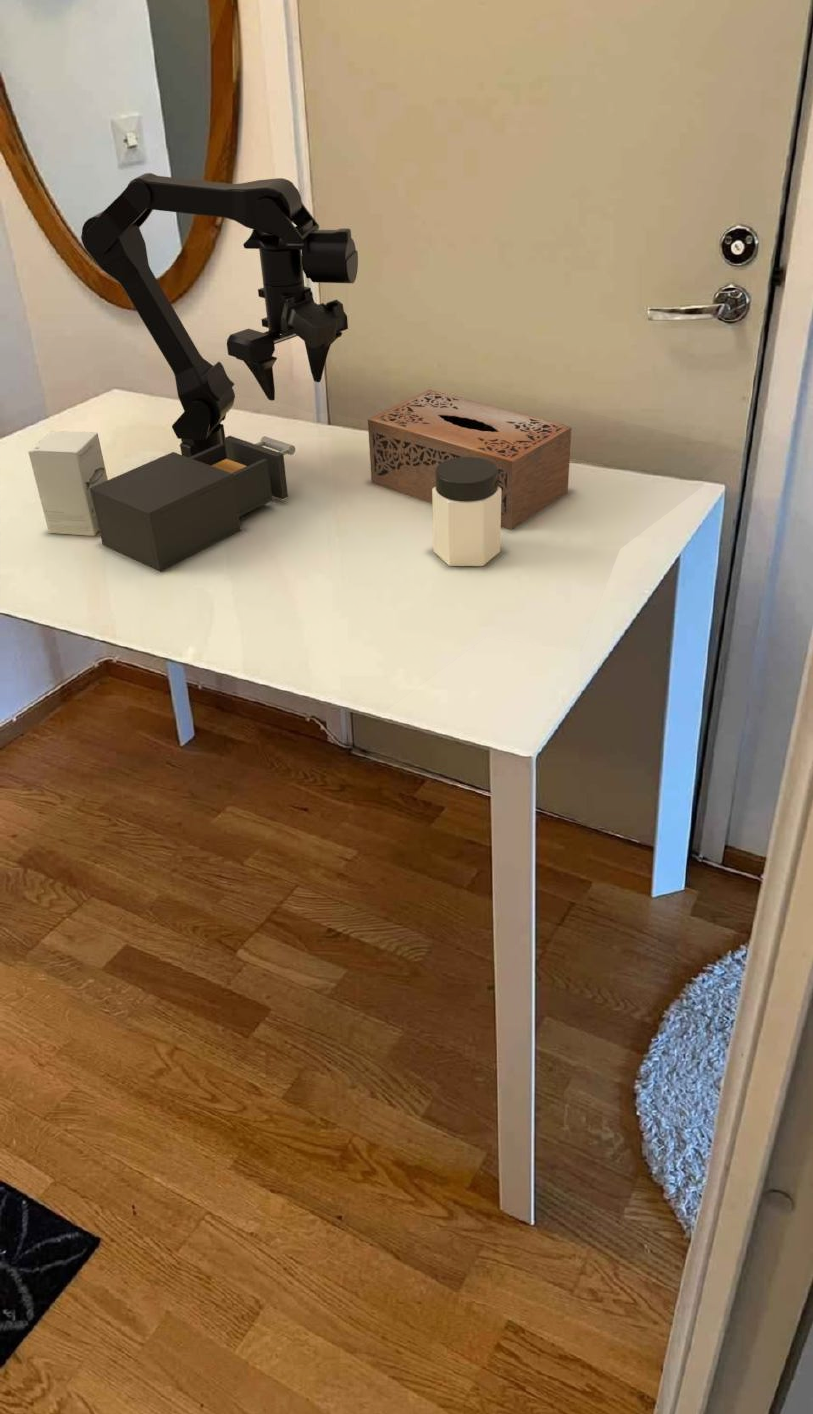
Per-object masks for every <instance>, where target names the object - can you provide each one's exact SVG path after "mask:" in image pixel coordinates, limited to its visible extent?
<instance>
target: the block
mask: <svg viewBox="0 0 813 1414" xmlns="http://www.w3.org/2000/svg"><path fill="white" fill-rule="evenodd" d="M212 466H213V467H216V468H218V469H221V470H224V471H226V472H229V473H234V472H237V471H239V470H241V469H243V468H245V467H247V466H245V465H242V464H240V463H237V462H234V461H231V460H229V459H225V460H223V461H221V462H218V463H216V464H214V465H212Z"/></svg>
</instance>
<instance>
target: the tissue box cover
mask: <svg viewBox="0 0 813 1414" xmlns="http://www.w3.org/2000/svg"><path fill="white" fill-rule="evenodd" d="M367 428H368V429H367V431H368V446H369V462H370V464H369V465H370V479H371V480H370V481H371V484H374V485H377V486H380V487H383V488H385V489H389V490H392V491H395V492H398V493H400V494H404V495H406V496H410V497H413V498H416V499H419V500H422V501H425V502H428V503H431V504H432V489H433V488H434V487H435V470H436V468H437V466H438V465H439V464H440V463H442V462H444V461H446V460H449V459H453V458H458V457H477V458H482V459H486V460H489V461H491V462H493V463H494V464H495V465H496V466H497V467H498V474H499V484H498V486H499V487H500V488H501V490H502V491H501V528H502V527H503V528H506V529H509V530H512V529H514V528H516V527H517V526H518V525H519V524H520V525H521V523H523V522H524V521H526V520H527V519H529V518H530V517H532V516H533V515H535V514H537V513H538V512H540V511H541V510H543V509H544V508H545V507H548V506H549V505H550V504H552V503H553V502H555V501H557V500H558V499H560V498H561V497H562V496H564V495H566V494H567V493H568V492H569V477H570V475H569V474H570V460H571V445H572V428H573V427H572V426H569V425H565V424H561V423H557V422H553V421H550V420H546V419H542V418H539V417H535V416H531V415H527V414H523V413H520V412H516V411H512V410H508V409H505V408H501V407H498V406H493V405H489V404H487V403H481V402H478V401H474V400H470V399H467V398H462V397H459V396H455V395H451V394H447V393H444V392H440V391H436V390H433V389H428V390H426V391H424V392H422V393H420V394H418V395H415V396H412V398H409V399H406V400H405V401H403V402H401V403H399V404H397V405H395V406H393V407H391V408H388V409H386V410H385V411H382V412H380V413H378V414H376V415H374V416H372V417H370V418H368V419H367Z"/></svg>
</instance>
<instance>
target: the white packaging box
mask: <svg viewBox="0 0 813 1414" xmlns="http://www.w3.org/2000/svg"><path fill="white" fill-rule="evenodd" d="M27 452H28V456H29V461H30V464H31V468H32V472H33V476H34V480H35V484H36V488H37V491H38V495H39V499H40V504H41V507H42V511H43V516H44V519H45V523H46V526H47V529H48V530H47V531H48V533H49V534H59V535H60V534H61V535H73V536H74V535H76V536H89V537H92V536H96V534H97V533H98V532H99V531H100V530H99V526H98V522H97V517H96V513H95V509H94V505H93V500H92V496H91V492H90V488H91V487H94V486H96V485H98V484H101V483H103V482H105V481H107V480H109V479H108V474H107V470H106V469H107V468H106V464H105V461H104V456H103V451H102V447H101V442H100V437H99V433H98V432H94V431H93V432H92V431H69V430H68V431H67V430H51V431H49V432H48V433H47V434H46V435H45V436H44V437H43V438H42V439H41V440H39V441H38V442H37V443H36V444H35V445H34V446H32V447H31V448H30V449H29V450H28V451H27Z"/></svg>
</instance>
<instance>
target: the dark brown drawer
mask: <svg viewBox="0 0 813 1414" xmlns="http://www.w3.org/2000/svg"><path fill="white" fill-rule="evenodd" d="M224 442H225V448H226V455H227V459H229V460H231V461H234V462H237V463H240V464H242V465H245V466H247V467H245V468H243V469H241V470H239V471H237V472H234V473H232V474H233V479H234V486H235V492H236V499H237V506H238V513H239V518H240V517H242V516H244V515H246V514H248V513H250V512H252V511H254V510H256V509H257V508H259V507H261V506H264V505H265V504H267V503H270V502H271V501H273V497H274V498H277V499H279V500H281V501H282V500H286V499H287V498H289V493H288V484H287V475H286V474H287V473H286V466H285V465H286V464H285V456H286V455H290V456H293V455H294V454H295V453H296V446H295V445H293V444H289V443H286V442H283V441H280V440H277V439H275V438H271V437H269V436H265V435H264V436H262V437H261V439H260V441H258V442H256V443H253V442H250V441H247V440H244V439H241V438H238V437H236V436H233V435H228V436H225V438H224ZM225 448H224V444H218V445H216V446H214V447H211V448H209V449H207V450H205V451H202V452H200V453H198V454H196V455H193V456H191V457H189V458H191V459H194V460H196V461H199V462H202V463H205V464H207V465H210V466H212V465H214V464H216V463H218V462H221V461H223V460H225V459H226V455H225Z"/></svg>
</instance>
